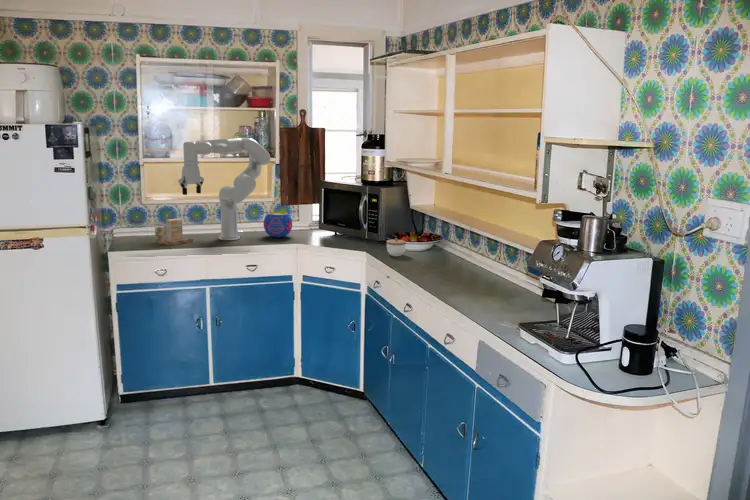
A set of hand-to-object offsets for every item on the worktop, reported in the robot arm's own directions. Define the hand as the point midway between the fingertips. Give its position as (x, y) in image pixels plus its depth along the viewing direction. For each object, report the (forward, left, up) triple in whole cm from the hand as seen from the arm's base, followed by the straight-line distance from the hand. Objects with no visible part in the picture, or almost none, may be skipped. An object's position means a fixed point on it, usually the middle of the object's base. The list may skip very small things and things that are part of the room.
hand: (191, 193), depth 369 cm
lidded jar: (-53, +106, -29) cm, 122 cm away
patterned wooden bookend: (+7, -8, -28) cm, 30 cm away
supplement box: (+7, -8, -28) cm, 30 cm away
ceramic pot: (-46, +23, -28) cm, 59 cm away
